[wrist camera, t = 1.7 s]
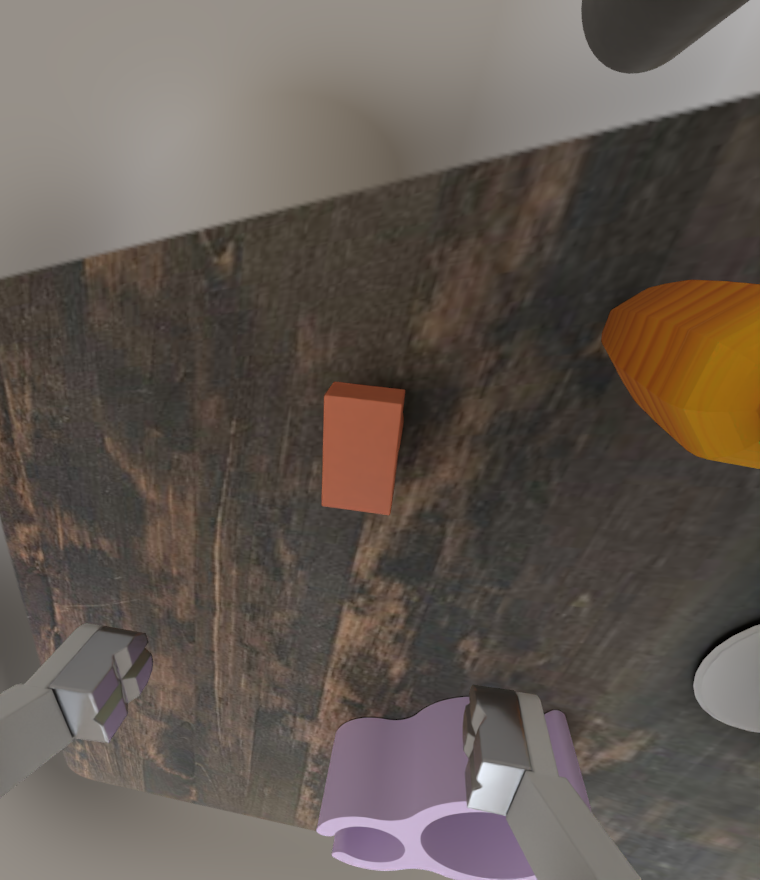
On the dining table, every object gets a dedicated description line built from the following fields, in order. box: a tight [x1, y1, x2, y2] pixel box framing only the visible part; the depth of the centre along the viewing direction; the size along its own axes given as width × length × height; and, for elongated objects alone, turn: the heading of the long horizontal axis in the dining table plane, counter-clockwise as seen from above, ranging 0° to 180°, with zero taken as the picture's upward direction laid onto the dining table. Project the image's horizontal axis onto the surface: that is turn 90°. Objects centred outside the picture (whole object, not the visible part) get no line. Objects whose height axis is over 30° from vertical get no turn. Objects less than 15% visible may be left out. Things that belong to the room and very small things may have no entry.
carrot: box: [601, 280, 760, 469], centre depth 13 cm, size 5×5×15 cm
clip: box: [317, 697, 592, 880], centre depth 33 cm, size 20×12×7 cm, turn 105°
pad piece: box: [322, 382, 405, 515], centre depth 22 cm, size 6×4×5 cm, turn 175°
